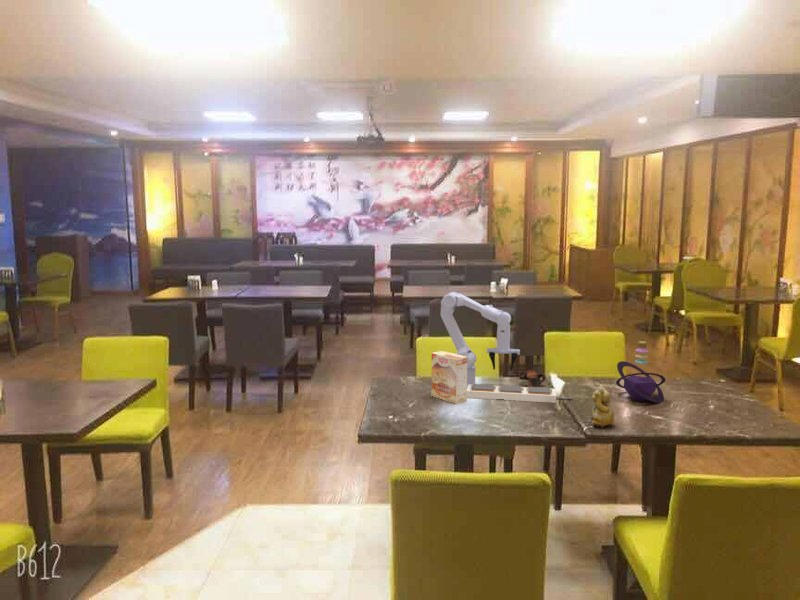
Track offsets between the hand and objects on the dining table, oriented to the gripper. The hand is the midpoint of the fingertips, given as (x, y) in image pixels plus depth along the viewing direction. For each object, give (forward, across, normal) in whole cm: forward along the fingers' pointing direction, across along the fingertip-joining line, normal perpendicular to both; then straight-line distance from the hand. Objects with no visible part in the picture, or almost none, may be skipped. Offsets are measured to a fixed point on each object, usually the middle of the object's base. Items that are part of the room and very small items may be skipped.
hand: (502, 369), depth 287 cm
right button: (+8, +16, -10) cm, 20 cm away
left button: (+8, -8, -10) cm, 15 cm away
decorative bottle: (+10, +58, -3) cm, 59 cm away
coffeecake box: (+10, -22, -18) cm, 30 cm away
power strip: (+9, +8, -10) cm, 16 cm away
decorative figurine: (+10, +39, -40) cm, 57 cm away
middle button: (+8, +4, -10) cm, 13 cm away
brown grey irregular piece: (+10, +13, +10) cm, 19 cm away
